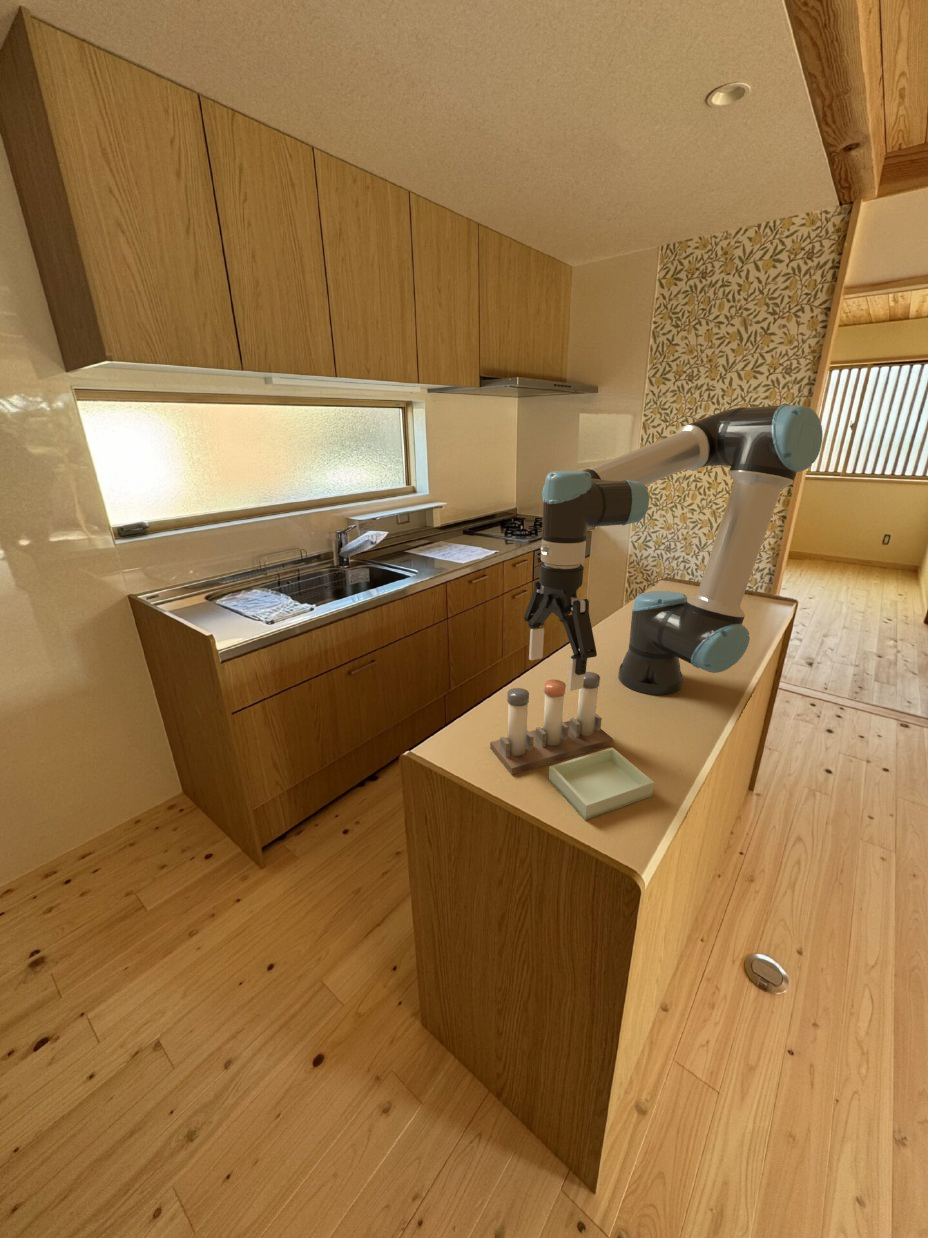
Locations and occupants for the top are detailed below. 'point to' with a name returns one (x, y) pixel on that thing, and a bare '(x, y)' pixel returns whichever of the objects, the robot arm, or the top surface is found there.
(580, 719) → the fuse
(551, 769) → the tray
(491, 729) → the top surface
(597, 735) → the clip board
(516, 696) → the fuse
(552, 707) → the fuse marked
